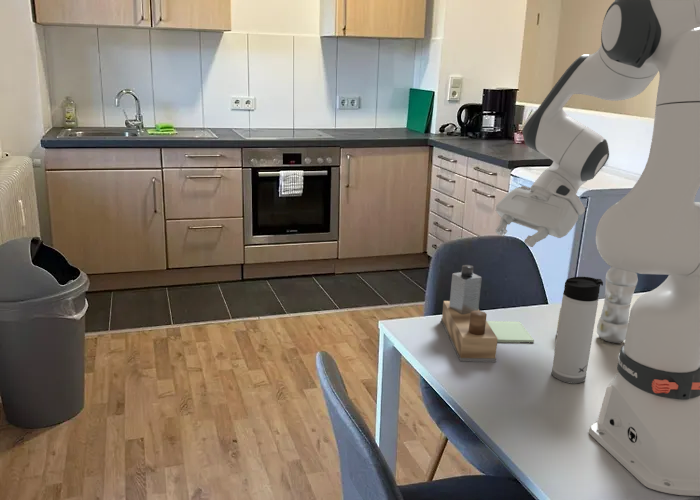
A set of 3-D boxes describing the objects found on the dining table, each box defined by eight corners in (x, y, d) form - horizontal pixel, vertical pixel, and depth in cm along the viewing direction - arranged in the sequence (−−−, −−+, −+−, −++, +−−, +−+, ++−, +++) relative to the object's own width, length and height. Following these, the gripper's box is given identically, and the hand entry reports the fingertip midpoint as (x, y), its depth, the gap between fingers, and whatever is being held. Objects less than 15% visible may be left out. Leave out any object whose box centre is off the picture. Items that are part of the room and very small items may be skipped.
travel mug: (589, 386, 120) (606, 286, 114) (553, 381, 121) (567, 282, 115) (584, 371, 125) (600, 275, 120) (550, 366, 127) (563, 271, 121)
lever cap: (478, 311, 140) (482, 268, 137) (461, 314, 138) (465, 270, 135) (465, 304, 144) (469, 262, 141) (449, 307, 142) (453, 264, 139)
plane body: (495, 361, 128) (500, 320, 125) (460, 361, 127) (464, 319, 125) (471, 321, 147) (475, 284, 145) (441, 320, 147) (444, 283, 144)
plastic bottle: (621, 334, 143) (636, 250, 137) (630, 347, 137) (646, 259, 131) (591, 332, 144) (605, 248, 138) (599, 345, 137) (614, 257, 132)
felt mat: (533, 342, 137) (534, 340, 137) (488, 342, 137) (488, 339, 137) (519, 324, 147) (519, 321, 147) (477, 323, 146) (477, 320, 146)
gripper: (513, 176, 151) (476, 219, 149) (579, 193, 133) (538, 242, 132) (525, 193, 154) (489, 236, 152) (591, 212, 137) (552, 260, 135)
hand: (512, 239), depth 142 cm, fingers open, 8 cm apart
